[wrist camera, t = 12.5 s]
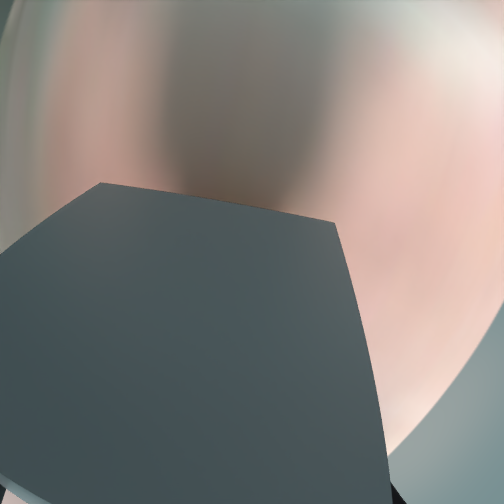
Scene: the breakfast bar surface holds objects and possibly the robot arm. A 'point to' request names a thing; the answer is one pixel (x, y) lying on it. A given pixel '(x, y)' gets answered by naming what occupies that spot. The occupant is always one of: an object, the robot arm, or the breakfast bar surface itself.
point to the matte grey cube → (184, 358)
